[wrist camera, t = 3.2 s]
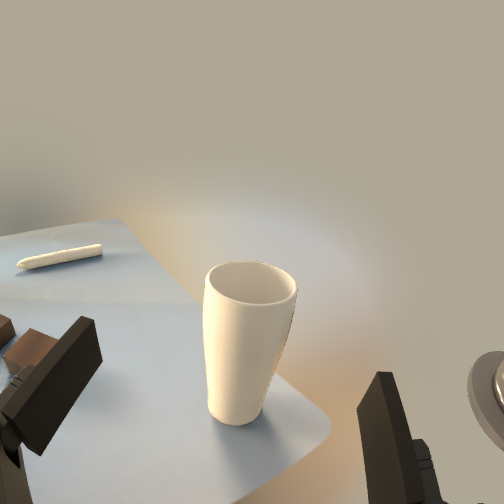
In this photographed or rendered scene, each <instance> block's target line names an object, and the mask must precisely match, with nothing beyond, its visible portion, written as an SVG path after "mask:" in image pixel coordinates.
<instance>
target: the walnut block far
mask: <svg viewBox="0 0 504 504" xmlns="http://www.w3.org/2000/svg"><path fill="white" fill-rule="evenodd" d="M15 334H16V333H15V330H14V327H13V325H12V322H11V319H9V318H7V317H5V316H3V315H1V314H0V349H1V348H2V347H3V346H4V345H5V344H6V343H7V342H8V341H9V340H10V339H11V338H12V337H13V336H14V335H15Z"/></svg>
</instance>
